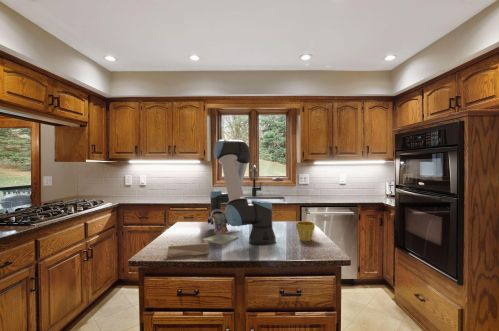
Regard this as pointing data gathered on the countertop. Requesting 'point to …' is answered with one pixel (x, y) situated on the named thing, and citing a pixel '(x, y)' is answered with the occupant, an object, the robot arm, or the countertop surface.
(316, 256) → the countertop surface
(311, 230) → the plant pot
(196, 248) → the mug holder
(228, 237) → the board
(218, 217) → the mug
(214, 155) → the robot arm
